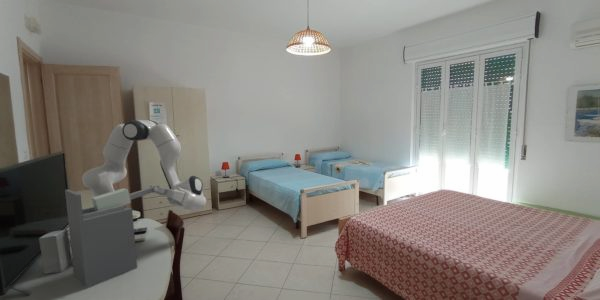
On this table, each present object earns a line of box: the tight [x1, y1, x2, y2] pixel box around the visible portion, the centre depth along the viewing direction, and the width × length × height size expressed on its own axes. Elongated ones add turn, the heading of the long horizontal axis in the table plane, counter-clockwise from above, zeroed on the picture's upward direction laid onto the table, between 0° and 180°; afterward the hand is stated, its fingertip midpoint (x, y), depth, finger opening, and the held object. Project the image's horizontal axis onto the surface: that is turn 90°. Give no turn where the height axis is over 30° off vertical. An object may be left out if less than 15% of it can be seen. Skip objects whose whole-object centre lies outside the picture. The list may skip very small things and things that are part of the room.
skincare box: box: [38, 229, 73, 275], centre depth 120 cm, size 8×7×16 cm
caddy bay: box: [64, 189, 138, 289], centre depth 115 cm, size 14×18×36 cm
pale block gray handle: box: [91, 185, 160, 212], centre depth 122 cm, size 4×26×6 cm, turn 143°
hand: (151, 187), depth 130 cm, fingers closed on pale block gray handle, 2 cm apart
